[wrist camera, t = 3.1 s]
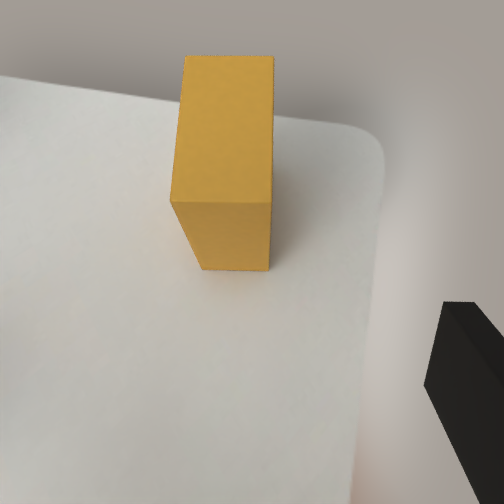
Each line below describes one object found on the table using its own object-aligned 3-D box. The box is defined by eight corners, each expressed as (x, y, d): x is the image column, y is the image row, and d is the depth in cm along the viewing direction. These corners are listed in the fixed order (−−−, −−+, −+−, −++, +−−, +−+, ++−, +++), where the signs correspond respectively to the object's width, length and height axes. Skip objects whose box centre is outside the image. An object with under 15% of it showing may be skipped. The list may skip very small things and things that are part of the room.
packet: (270, 164, 30) (274, 55, 20) (268, 271, 27) (272, 203, 18) (209, 163, 30) (184, 54, 20) (201, 270, 27) (169, 201, 18)
